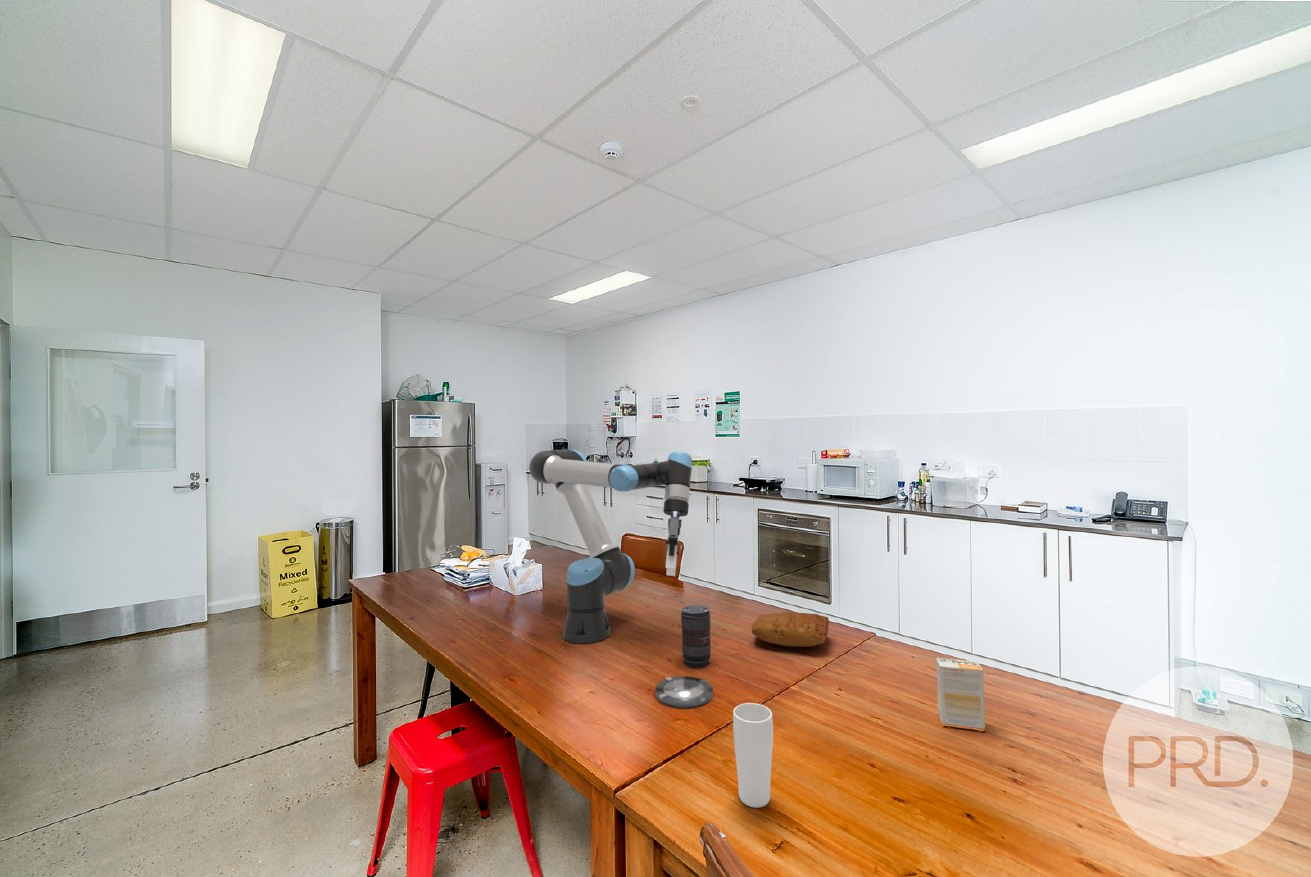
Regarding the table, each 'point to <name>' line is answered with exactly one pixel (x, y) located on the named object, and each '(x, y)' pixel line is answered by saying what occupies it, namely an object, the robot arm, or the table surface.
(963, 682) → the supplement box
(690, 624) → the camera lens
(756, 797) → the drinking glass
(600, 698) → the table surface
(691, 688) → the mount plate
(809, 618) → the bread loaf
